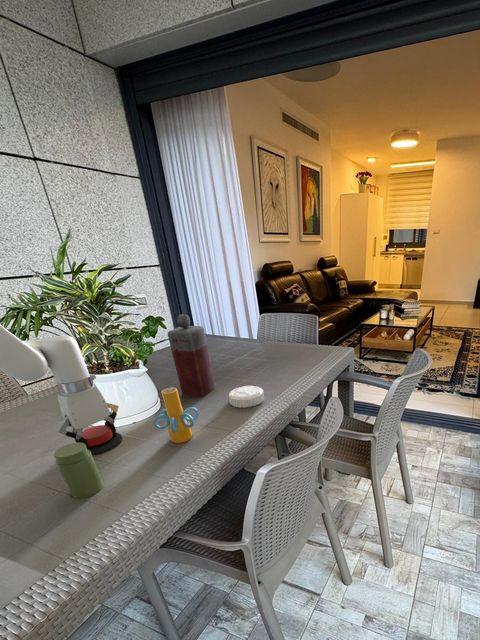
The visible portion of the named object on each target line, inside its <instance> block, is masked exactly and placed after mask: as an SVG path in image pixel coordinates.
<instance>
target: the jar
mask: <svg viewBox="0 0 480 640" xmlns="http://www.w3.org/2000/svg"><path fill="white" fill-rule="evenodd" d="M53 457H54V459H55V462H54V463H55V465H56V467H57V469H58V472H59V473H60V475H61V477H62V479H63V481H64V483H65V486H66V487H67V488H66V489H68V492H69V493H70V497H72V498H74V499H84V498H85V499H86V498H88V497H91V496H93V495H96V494H97V493H98V492H100V491H102V489H103V487H104V485H105V482H104V479H103V478H102V475H101V472H100V470H99V467H98V466H97V463H96V461H95V459H94V455H92V454H91V451H90V450H88V449H87V447H86V445H85V444H84V443H76V442H72V443H71V442H70V443H68V444H65V445H63V446H60V447H58V448H57V449H56V450H55V451H54V452H53Z"/></svg>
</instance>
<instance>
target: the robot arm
mask: <svg viewBox="0 0 480 640" xmlns="http://www.w3.org/2000/svg"><path fill="white" fill-rule="evenodd" d="M48 369H49V370H50V372H51V374H52V376H53V378H54V381H55V383H56V385H57V388H58V390H59V392H58V393H57V400H58V405H59V408H60V413H61V414H62V418H63V420H61V422H60V424H59V425H58V426H57V428H56V432H57V433H59V434H60V435H64V436H66V437H68V438H71V439H74V441H75V443H84V444H85V445H86V447H87V449H89V448H88V446H87V444H86V441H85V439H84V438H83V437H81V435H82V432H83V431H84V430H83V429H85V428H89V427H90V426H92V425H95V424H97V423H99V422H102V421H104V425H107V426H109V427H110V428H111V430H112V433H113V436H114V437H115V436H117V435H116V432H117V429H116V426H115V422H116V418H117V415H118V411H119V404H118V405H117V404H114V403H109V402H107V401H106V399H105V397H104V395H103V393H102V392H101V390H100V389H99V387H98V386H97V384H95V383H94V380H96V379H97V376H96V374H94V373H92V374H90V372H89V370H88V368H87V364H86V362H85V359H84V357H83V355H82V351H81V348H80V346H79V344H78V342H77V340H76V339H75V337H73V336H71V335H56V336H51V337H47V338H45V339H33V340H21V338H19V337H18V336H16V335H14V334H13V333H12V332H10V330H8V329H7V328H5V326H3V325H2V324H0V371H2V372H3V373H5V374H6V375H8V376H10V377H12V378H14V379H16V380H18V381H22V382H35V381H38V380H40V379H43V378H44V376H45V375H46V374H47V372H48ZM68 427H69V428H71V431H69V430H67V428H68Z"/></svg>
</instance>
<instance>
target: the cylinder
mask: <svg viewBox="0 0 480 640" xmlns="http://www.w3.org/2000/svg"><path fill="white" fill-rule="evenodd" d="M160 392H161V395H162V400H163V402H164V407H165V408H162V409H160V411H159V414H158V415H157V416H155V417H154V418H153V421H152V423H153V426H154V427H155V428H156V429H158V430H164V429H167V431H168V434H169V438H170V441H171V442H172V443H174V444H182V443H185V442H188V441H190V440H191V439H192V438H193V432H192V428H194V425H195V420H197V419H198V418H199V414H200V413H199V410H198V409H197V408H196V407H193V406H190V407H187V408H185V409H183V406H182V402H181V398H180V395H179V391H178V388H177V387H167V388H163V389H162V390H161V391H160ZM189 411H193V412H195V415H194V417H192V416H191V415H190V414H188V412H189ZM164 413H166V414H167V415H165V414H164ZM159 419H162V421H164V422H165V425H161V426H160V425H158V424H157V421H158V420H159Z"/></svg>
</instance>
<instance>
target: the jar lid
mask: <svg viewBox="0 0 480 640" xmlns="http://www.w3.org/2000/svg"><path fill="white" fill-rule="evenodd" d="M112 436H113V433H112V430H111V428H110V427H109V426H107V425H105V424H100V425H99V424H98V425H93V426H91V427H87V428H86V429H84V430H82V435H81V437H83V438H84V439H85V441H86V444H87V446H94V445H99V444H102V443H104V442H106V441H108V440H110V439H111V438H112Z"/></svg>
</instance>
